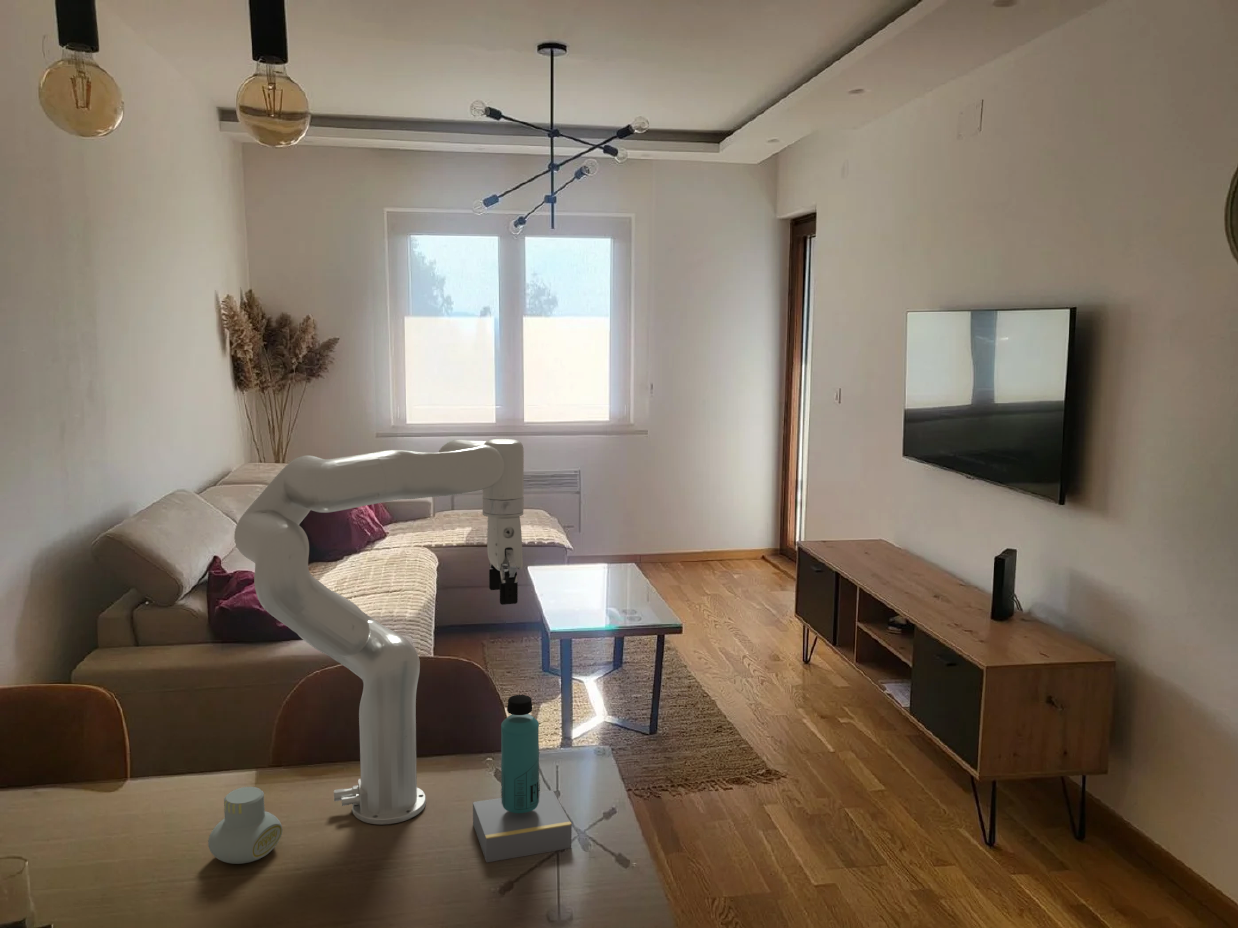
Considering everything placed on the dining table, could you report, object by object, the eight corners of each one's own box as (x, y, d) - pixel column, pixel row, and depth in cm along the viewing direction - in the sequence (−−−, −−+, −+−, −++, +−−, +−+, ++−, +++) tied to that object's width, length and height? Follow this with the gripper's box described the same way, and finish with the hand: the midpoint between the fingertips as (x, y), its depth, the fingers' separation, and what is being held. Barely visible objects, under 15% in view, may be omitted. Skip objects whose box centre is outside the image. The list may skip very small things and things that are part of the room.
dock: (486, 862, 145) (486, 837, 144) (473, 823, 156) (472, 800, 156) (571, 847, 150) (571, 823, 149) (552, 811, 161) (552, 788, 160)
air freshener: (243, 877, 140) (241, 816, 139) (200, 866, 143) (197, 806, 141) (290, 840, 150) (288, 783, 149) (249, 831, 153) (246, 774, 151)
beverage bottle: (533, 824, 149) (534, 707, 146) (494, 819, 150) (494, 703, 147) (544, 804, 155) (545, 692, 152) (507, 799, 157) (507, 688, 154)
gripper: (534, 514, 162) (533, 608, 164) (512, 497, 178) (512, 582, 180) (492, 516, 159) (492, 611, 162) (474, 498, 176) (474, 585, 178)
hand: (503, 596), depth 171 cm, fingers open, 9 cm apart
